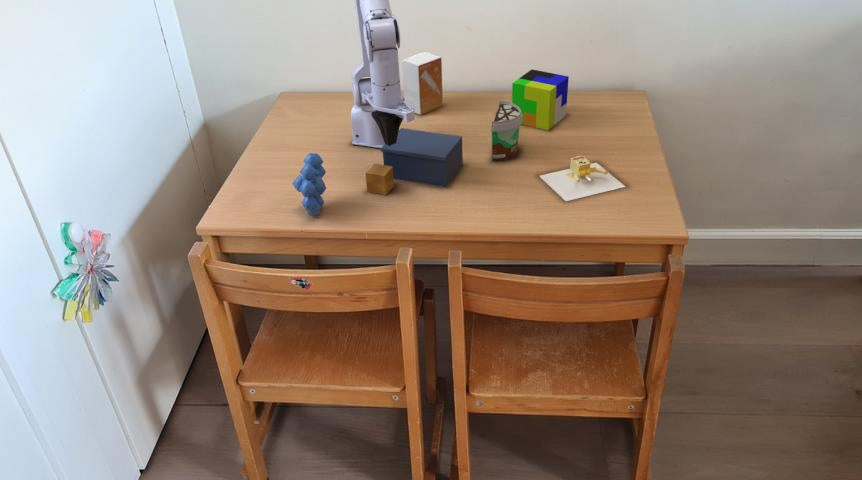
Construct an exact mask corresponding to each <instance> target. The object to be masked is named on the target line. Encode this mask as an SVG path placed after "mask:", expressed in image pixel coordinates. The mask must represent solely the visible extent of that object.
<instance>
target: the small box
mask: <svg viewBox="0 0 862 480" xmlns="http://www.w3.org/2000/svg"><path fill="white" fill-rule="evenodd" d="M442 61H443V60H442V57H441V56H439V55H437V54H434V53H431V52H429V51H423V52H420V53H417V54H414V55H411V56H409V57H405V58H403V59H401V70H402V71H401V72H402V87H403V97H405V101H404V103H405V104H406V105H407V106H408V107H409V108H410V109H412V110H414V114H418V115H419V116H420V115H424V114H427V113H428V112H431V111H433V110H437V109H438V108H441V107H443V106H444V99H443V97H444V96H443V95H444V94H443V67H442V66H443V65H442V64H443V63H442Z"/></svg>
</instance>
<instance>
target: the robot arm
mask: <svg viewBox="0 0 862 480" xmlns="http://www.w3.org/2000/svg"><path fill="white" fill-rule="evenodd" d="M354 8H355V14H356V22H357V32H358V37H359V38H358V39H359V47H360V48H359V49H360V56H361V63H360V64H359V65H358V66H357V67H356V68H354V70H353V71H352V74H351V87H352V96H353V102H354V104H353V106H352V108H351V111H350V123H351V124H350V125H351V133H352V142H351V145H355V146H360V147H361V146H362V147H369V148H376V149H381V147H382V146H383V145H384V144H386V145H388V146H390V145H393V144H395V143H396V142H397V136H398V131H399V130H400V129H401V124H402V122H403V121H404V122H405V123H406V124H407V123H410V122H412V121H415V120H416V119H415V113H414V110H412V109H410V108H409V107H408V106H407V105H406V104H405V103H404V101H405V97H404V95H402V89H401V77H400V63H399V62H400V61H399V50H398V49H400V48H401V31H400V25H399V22H398V19H397V16H396V15H395V14H394V13H392V8H391V4H390V0H354Z"/></svg>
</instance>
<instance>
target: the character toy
mask: <svg viewBox="0 0 862 480" xmlns="http://www.w3.org/2000/svg"><path fill="white" fill-rule="evenodd" d="M591 164H592V163H591V162H590V161H589V160H588V159H587V158H586V157H585V156H583V154H582V155H578V156H574V157H571V158H570V163H569V165H570V166H569V168H568V169H569V170H570V171H571V172H572V173H573V174H574V176H573V178H574V180H575V181H576V182H577V183H580V182H581V179H580V178H581V177H585V178H586V179H587V180H588V181H589V182H591V181H592V178H591V177H589V176H588V175H590V174H593V173H599V174H603V175H605V176H606V175H607V174H608V173H609V172H608V170H607V169H605V168H604V167H602V166H601V167H602V168H601V167H596V166H593V167H591Z"/></svg>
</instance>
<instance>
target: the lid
mask: <svg viewBox="0 0 862 480" xmlns="http://www.w3.org/2000/svg"><path fill="white" fill-rule="evenodd" d="M461 141H462V142H463V136H461V135H454V134H447V133H440V132H439V133H438V132H431V131H426V130H417V129H410V128H402V127H400V128H399V131H398V136H397V142H396V143H395V144H393V145H390V146H388V145H386V144H384V145H383V146H382V147H381V148H380V152H382V153H383V152H389V153H396V154H402V155H409V156H416V157H423V158H429V159H436V160H443V161H445V160H446V159H447V157H448V156H449V155H450V154H451V153H452V151H453V150H454V149H455V148H456V147H457V145H458V144H459V143H460V142H461Z"/></svg>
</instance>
